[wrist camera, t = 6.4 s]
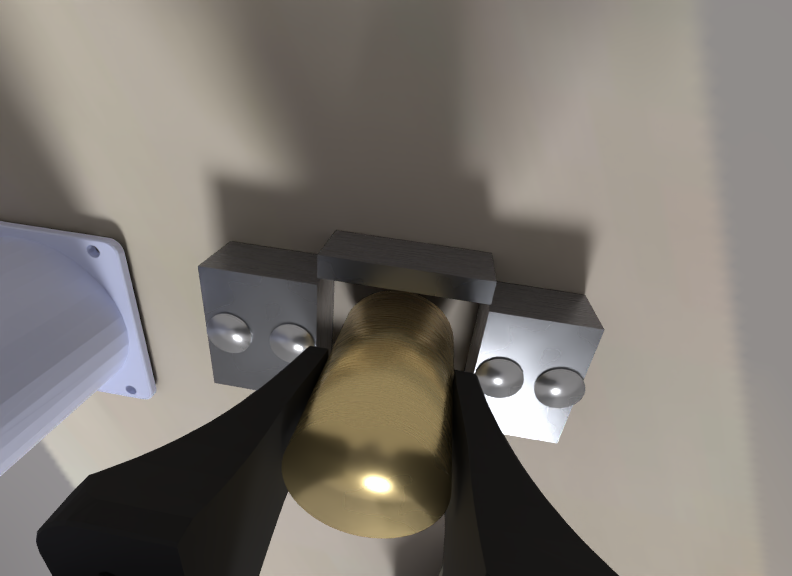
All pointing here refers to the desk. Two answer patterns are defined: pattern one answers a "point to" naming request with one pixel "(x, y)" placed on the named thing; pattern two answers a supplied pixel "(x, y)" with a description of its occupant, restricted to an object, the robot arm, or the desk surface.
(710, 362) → the desk surface
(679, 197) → the desk surface
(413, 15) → the desk surface
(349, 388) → the link pin
